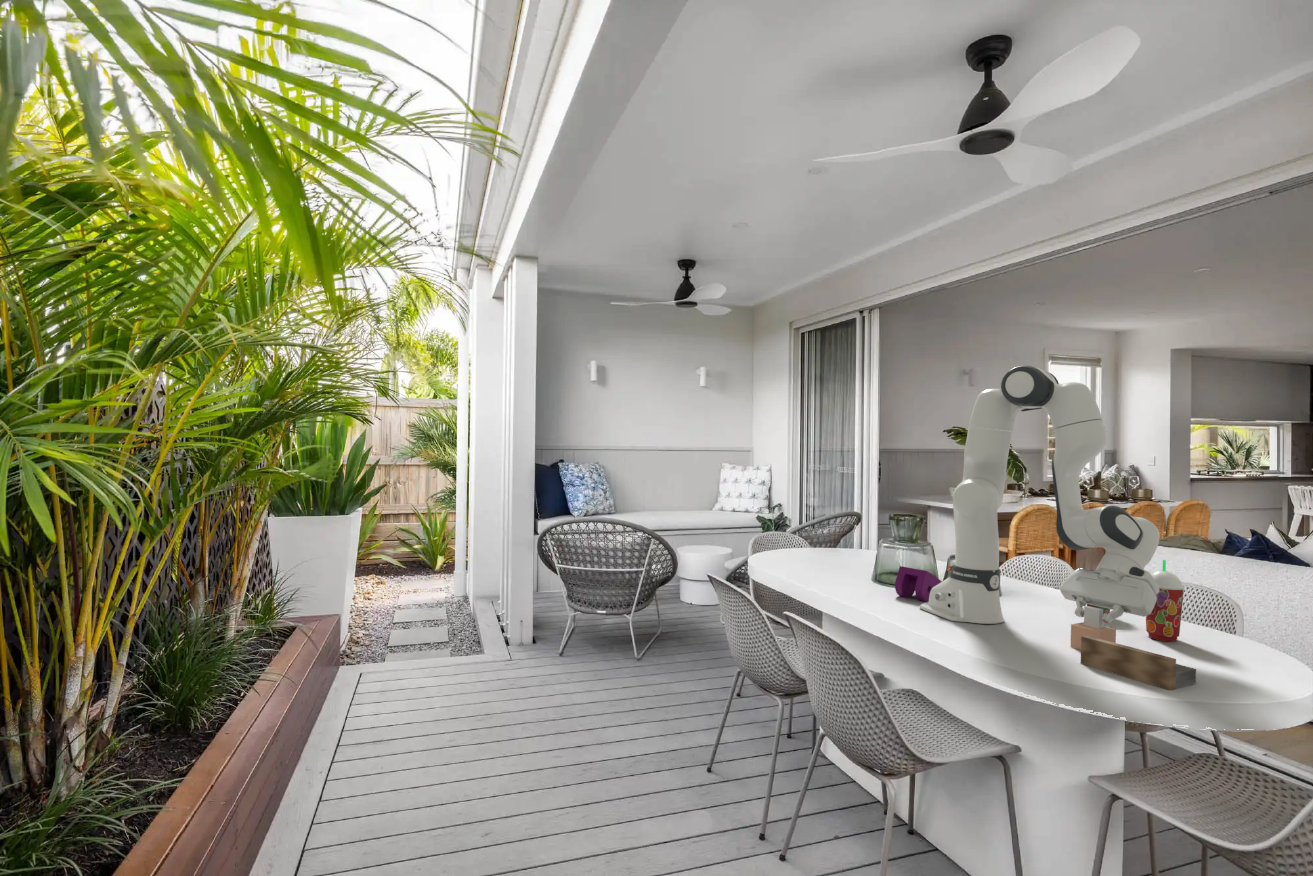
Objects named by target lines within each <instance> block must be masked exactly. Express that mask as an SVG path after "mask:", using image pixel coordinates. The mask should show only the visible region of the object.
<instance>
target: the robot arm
mask: <svg viewBox="0 0 1313 876" xmlns="http://www.w3.org/2000/svg"><path fill="white" fill-rule="evenodd" d="M976 397H977V398H976V400H975V402H974V405H973V408H972V411H971V414H970V419H969V424H968V428H967V434H966V435H967V436H966V438H965V439H966V440H965V444H964V445H965V446H964V451H963V452H964V453H963V471H962V472H963V473H962V481H961V482H960V483H958V485H956V487H955V489H954V491H953V494H952V507H953V508H952V509H953V510H952V511H953V524H954V525H953V526H954V532H955V548H954V549H955V551H954V553H955V555H954V564H953V565H951V566H946V571H947V572H950V573H949V576H948V577H947V578H946V579H944V580H941V581H942V582H941V583H939V584H938V585H936V586H934V587H933V588H932V589H931V591H930V595H929V602H923V603H921V604H920V605H919V609H920V610H922V611H923V610H924V611H926V612H929V613H931V614H933V615H936V616H939V617H941V618H944V619H946V620H948V621H952V622H961V623H962V622H965V623H971V624H988V625H990V624H991V625H993V624H995V625H996V624H1002V623H1004V622H1005V618H1004V615H1003V611H1002V606H1001V598H1000V584H1001V569H1000V567H999V565H1000V563H999V561H1000V538H999V535H1000V534H999V523H998V510H999V508H1001V506H1002V504H1003V499H1004V493H1005V485H1006V478H1007V477H1006V476H1007V467H1008V459H1009V452H1010V447H1011V442H1012V436H1013V431H1014V426H1015V425H1014V424H1015V420H1016V418H1017V415H1018V413H1020V412H1028V411H1034V410H1041V409H1044V410H1045V412H1047V415H1049V418H1050V422H1051V427H1052V429H1053V434H1054V442H1055V448H1054V454H1053V456H1052V458H1051V474H1052V481H1053V489H1054V498H1055V507H1056V521H1055V523H1056V524H1055V529H1056V536H1057V537H1058V538H1059V541H1061V543H1062V544H1063V545H1065V546H1066V547H1067V548H1069V549H1070V550H1073V551H1084V550H1088V549H1092V548H1099V547H1102V548H1103V549H1104V550H1105V554H1104V555H1103V557H1102V558H1101V560H1100V562H1099V563H1098V565H1097V566H1096V568H1095V570H1094V569H1087V568H1083V567H1080V568H1077V569H1073V570H1072V571H1071V573H1070V574H1069V575H1067V577H1066V578H1065V579H1064V580H1063V582H1062V584H1061V585H1060V587H1059V591H1060V593H1061V595H1062V596H1063V597H1064V599H1066V600H1068V601H1073V602H1076V608H1075V609H1074V614H1075V616H1076V617H1079V618H1084V608H1083V607H1085V606H1087V604H1090V605H1094V606H1099V607H1103V608H1108V609H1110V613H1108V614H1107V613H1104V615H1103V617H1102V621H1103V624H1108V625H1112V623H1113V621H1114V620H1116V619H1118V618H1119V617H1122V616H1123V614H1124V613H1125V614H1129V615H1135V616H1139V617H1143V618H1144V617H1145V618H1146V616H1147V615H1149V614H1150V613H1151V612H1152V610H1153V608H1154V606H1155V603H1156V600H1157V597H1156V595H1157V594H1158V593H1159V587H1158V585H1157V583H1156V581H1155V580H1154V578H1153V577H1152V575H1151V574H1152V573H1150V572H1149V571H1148V570H1146V569H1145V567H1146V566H1147V565H1149V563H1150V562H1151V561H1152V559H1153V557H1154V555H1155V554H1156V551H1157V548H1158V546H1159V543H1160V536H1161V533H1160V531H1159V529H1158V527H1157V526H1156V525H1155V524H1154V523H1153V522H1152V521H1151V520H1149V519H1147V518H1144V517H1139V516H1134V515H1131V514H1129V513H1128V511H1126V510H1125V509H1123V508H1122V507H1120V506H1117V505H1105V506H1100V507H1093V508H1087V509H1084V507H1083V504H1082V494H1081V486H1080V475H1081V472H1082V471H1083V469H1084V468H1085V466H1087V465H1088V464H1089V463H1090V462H1091V461H1093V459H1095V458H1096V457H1097V456H1099V454H1100V453H1101V452H1102V451H1103V450H1104V447H1105V446H1106V444H1107V431H1106V427H1105V423H1104V420H1103V417H1102V414H1101V411H1100V408H1099V406H1098V404H1097V401H1096V399H1095V397H1094V395H1093V393H1092V391H1091V390H1090V388H1089V386H1087V385H1086V384H1084V383H1081V382H1073V381H1072V382H1065V383H1059V380H1058V378H1057V377H1056V376H1055V375H1054V374H1052V373H1051V372H1049V371H1047V370H1045V369H1044V368H1041V367H1038V366H1032V365H1025V364H1024V365H1018V366H1015V367H1013V368H1011V369H1010V370H1008V371H1006V373H1005V375H1004V376H1003V377H1002V379H1001V383H1000V388H987V389H985V390H983V391H981V392H980V393H978V395H977V396H976Z"/></svg>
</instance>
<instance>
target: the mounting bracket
mask: <svg viewBox="0 0 1313 876" xmlns="http://www.w3.org/2000/svg"><path fill="white" fill-rule="evenodd" d="M942 581H943V580H941V579H939V578H938V577H936V576H935V575H933V574H932V573H931V572H929V571H928V570H924V569H917V568H912V567H907V566H900V565H899V568H898V571H897V575H896V579H895V583H894V589H895V593H896V594H897V596H899V597H902V598H911V597H912V596H913V595H914V594H915V596H916V599H917V600H918V601H921V602H924V603H927V602H929V595H930V591H931V589H932V588H933V587H934V586H936V585H938V584H939V583H941V582H942Z"/></svg>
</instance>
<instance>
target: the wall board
mask: <svg viewBox="0 0 1313 876" xmlns="http://www.w3.org/2000/svg"><path fill="white" fill-rule="evenodd" d="M1080 664H1082V665H1085V666H1088V667H1092V668H1095V669H1099V670H1101V669H1102V670H1101V671H1105V672H1109V673H1112V674H1116V675H1118V676H1121V677H1124V678H1129V679H1132V680H1135V681H1138V682H1141V683H1144V684H1148V683H1149V685H1152V686H1154V687H1155V686H1156V687H1157V688H1162V689H1164V690H1168V691H1171V690H1176V689H1179V688H1184V687H1187V685H1188V686H1191V685H1190V684H1192V685H1194V684H1193V683H1196V684H1197V669H1196V668H1193V667H1190V666H1186V665H1182V664H1178V663H1177V659H1176V658H1174V657H1170V656H1166V655H1162V654H1160V653H1159V654H1158V653H1155V652H1152V651H1146V650H1143V649H1140V648H1137V647H1133V646H1128V645H1125V644H1120V643H1118V642H1116V643H1114V642H1110V641H1106V640H1102V639H1099V638H1095V637H1091V636H1087V635H1086V636H1081V650H1080Z"/></svg>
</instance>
